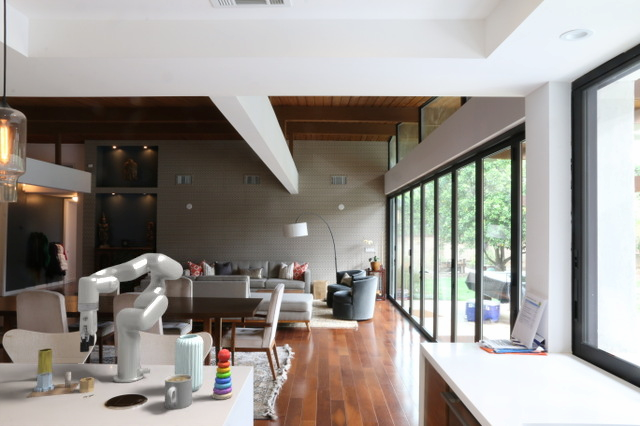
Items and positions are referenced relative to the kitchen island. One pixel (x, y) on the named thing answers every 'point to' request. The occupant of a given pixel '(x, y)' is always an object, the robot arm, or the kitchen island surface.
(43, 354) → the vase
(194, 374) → the vase
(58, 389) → the board
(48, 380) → the gear
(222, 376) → the stacking toy
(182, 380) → the coffee mug
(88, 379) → the oak gear
